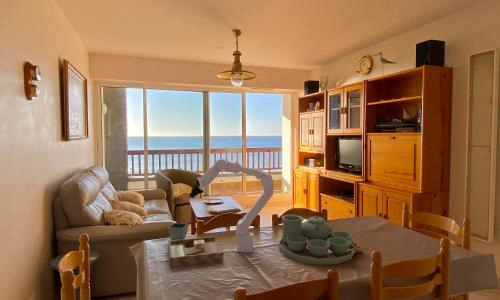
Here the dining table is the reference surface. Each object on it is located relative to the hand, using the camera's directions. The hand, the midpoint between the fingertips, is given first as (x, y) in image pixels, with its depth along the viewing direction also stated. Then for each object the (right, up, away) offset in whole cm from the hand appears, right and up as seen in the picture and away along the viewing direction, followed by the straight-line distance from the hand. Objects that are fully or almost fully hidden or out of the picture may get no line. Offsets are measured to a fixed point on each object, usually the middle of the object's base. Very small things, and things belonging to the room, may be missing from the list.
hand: (191, 194), depth 165 cm
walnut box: (+3, -30, -6) cm, 31 cm away
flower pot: (-10, -29, +14) cm, 34 cm away
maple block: (+5, -27, -6) cm, 28 cm away
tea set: (+67, -30, +2) cm, 74 cm away
